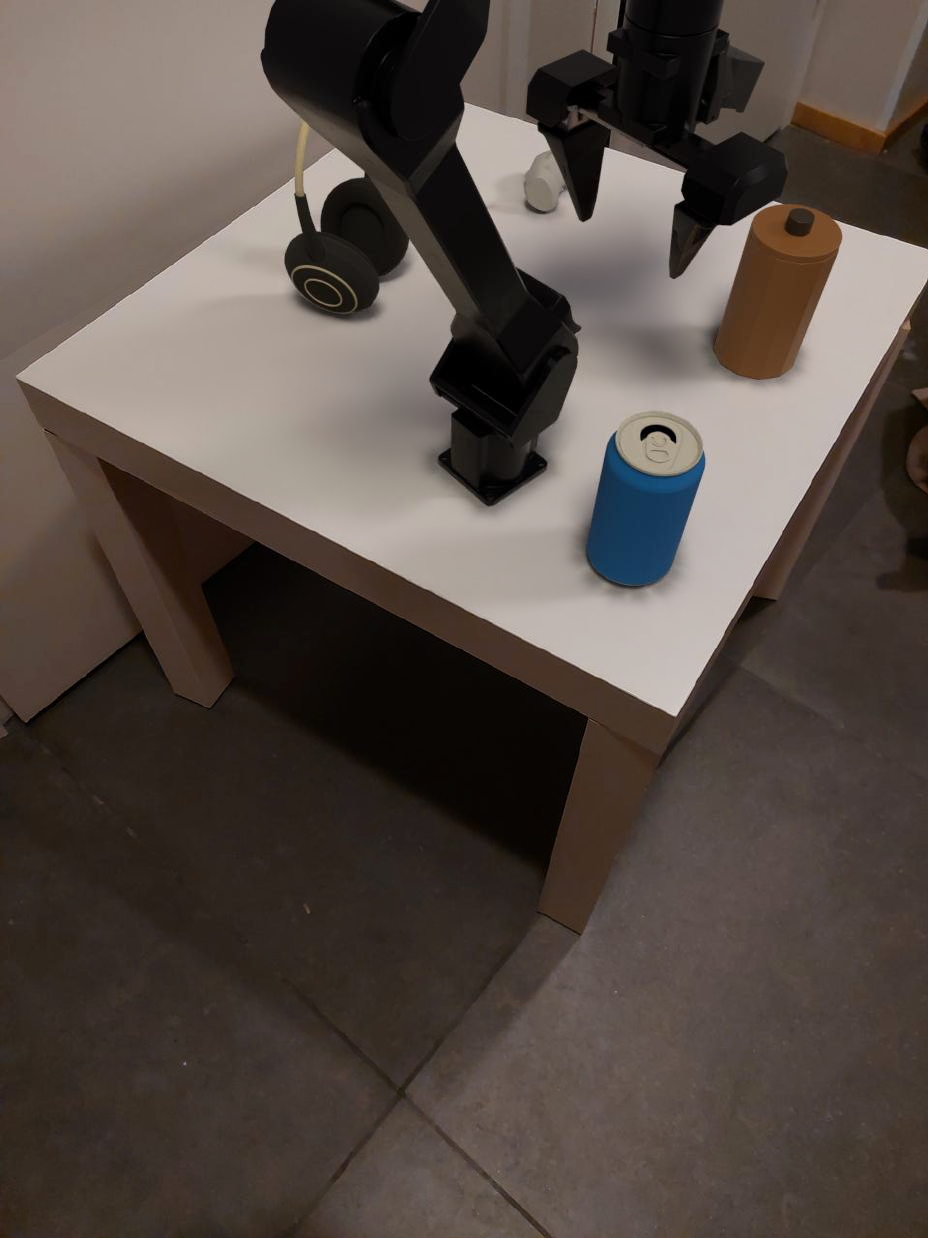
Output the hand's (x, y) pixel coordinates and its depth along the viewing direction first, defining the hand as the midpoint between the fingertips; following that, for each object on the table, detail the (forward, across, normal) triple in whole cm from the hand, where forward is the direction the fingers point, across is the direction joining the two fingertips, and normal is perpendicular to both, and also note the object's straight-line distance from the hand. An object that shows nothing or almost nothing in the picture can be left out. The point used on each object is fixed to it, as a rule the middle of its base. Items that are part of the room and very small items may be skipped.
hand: (629, 246), depth 67 cm
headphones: (+13, +24, +9) cm, 29 cm away
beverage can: (+13, -14, +12) cm, 23 cm away
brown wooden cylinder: (+13, -6, -13) cm, 19 cm away
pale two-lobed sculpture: (+13, +24, -16) cm, 32 cm away
